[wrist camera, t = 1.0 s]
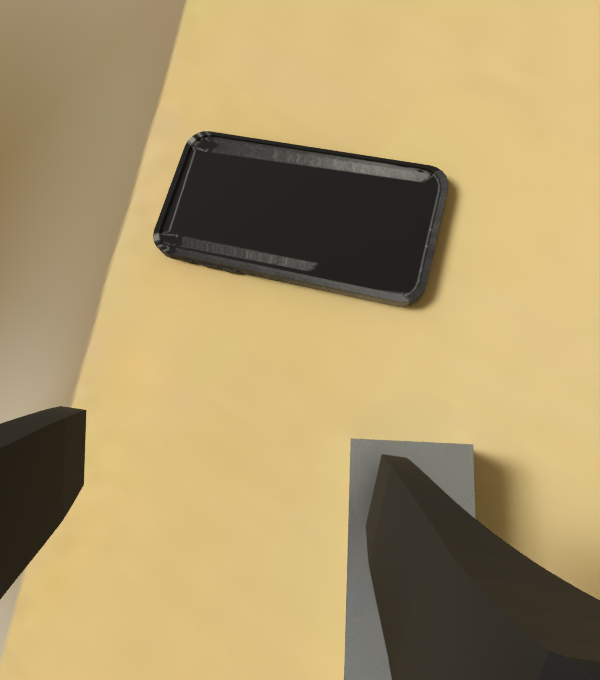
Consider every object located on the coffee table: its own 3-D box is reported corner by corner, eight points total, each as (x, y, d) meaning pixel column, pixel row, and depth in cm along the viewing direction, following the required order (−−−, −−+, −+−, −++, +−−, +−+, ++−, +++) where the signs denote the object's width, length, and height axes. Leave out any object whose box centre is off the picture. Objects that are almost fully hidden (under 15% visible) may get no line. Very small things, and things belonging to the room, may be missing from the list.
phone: (191, 128, 27) (452, 168, 25) (197, 141, 28) (448, 180, 26) (146, 250, 26) (421, 308, 23) (155, 258, 27) (418, 315, 24)
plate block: (465, 689, 20) (482, 728, 17) (346, 674, 20) (343, 710, 18) (458, 446, 22) (473, 444, 19) (352, 441, 23) (350, 438, 20)
